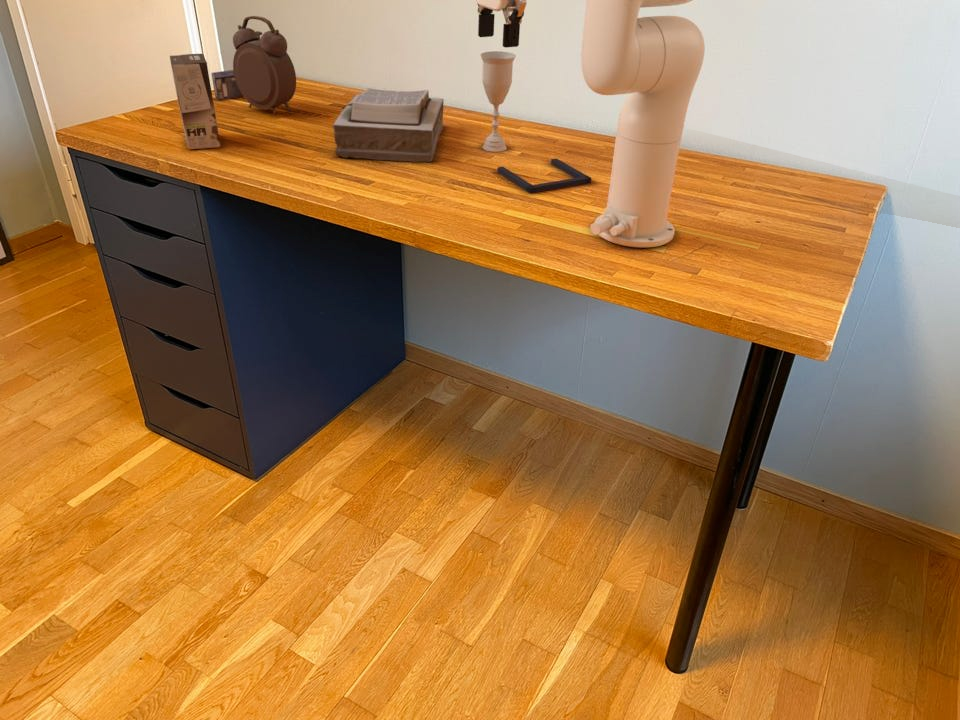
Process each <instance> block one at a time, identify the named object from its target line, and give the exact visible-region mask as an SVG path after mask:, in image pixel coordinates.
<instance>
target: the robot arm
mask: <svg viewBox="0 0 960 720" xmlns="http://www.w3.org/2000/svg"><path fill="white" fill-rule="evenodd" d="M475 1H476V4H477V6H478V7H477V14H478V27H477V28H478V29H477V36H478V37H479V38H488V37H489V38H490V37H491V38H492V37H494V35H495V13H493V12H502V15H503V17H504V22H505V23H503V25H502V26H503V29H502V30H503V31H502V47H503V48H517V47H519V45H520V32H521V31H520V29H521V24H522V22H523V18H524V16H525V9H526V6H527V0H475ZM692 1H693V0H586V2H585V11H584V19H583V29H582V38H581V39H582V41H581V53H580V56H581V61H580V63H581V71H582V76H583V79H584V81H585V84H586V85H587V86H588V88H589V89H590V90H591V91H592V92H594V93H596V94H598V95H602V96H618V95H627V94H628V96H627V97H626V99H625V101H624V103H623V105H622V107H621V110H620V112H619V115H618V120H617V126H616V134H615V141H614V150H613V157H612V164H611V172H610V180H609V188H608V196H607V203H606V207H605V208H604V213H602V214H599V216H597V217H596V219H595V220H594V222H592V223H591V224H590V227H589V230H590V233H591V234H592V235H594V236H599V237H601V238H602V239H603V240H606V241H607V242H610V243H613V244H615V245H620V246H623V247H629V248H638V249H639V248H645V249H646V248H655V247H660V246H663V245H667V244H668V243H670V242H671V241H672V240H673V238H674V237H675V231H676V229H675V227H674V225H673V224H672V223H671V222H670V221H669V220H668V214H669V209H670V202H671V197H672V192H673V187H674V180H675V175H676V171H677V170H676V169H677V164H678V159H679V153H680V148H681V143H682V137H683V133H684V127H685V122H686V118H687V117H686V116H687V112H688V108H689V104H690V100H691V97H692V95H693V94H692V93H693V91H694V89H695V86H696V83H697V81H698V78H699V75H700V72H701V71H702V67H703V63H704V60H705V48H706V47H705V40H704V36H703V34H702V31H701V30H700V28H699V26H698V25H697V24H695V22H693V21H692V20H690V19H688V18H686V17H682V16H679V15H656V16H655V15H654V16H642V17H639V12H640V9H642V8H659V7H672V6H679V5H684V4H688V3H689V2H692Z"/></svg>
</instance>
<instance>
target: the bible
mask: <svg viewBox="0 0 960 720" xmlns="http://www.w3.org/2000/svg"><path fill="white" fill-rule="evenodd" d="M429 95H430V94H429V90H428V89H424V90H409V91H400V90H399V91H397V90H387V89H386V90H384V89H378V88H377V89H376V88H372V87H371V88H370V87H367V88H366V89H365V90H363V92H361V93H357V94H355V95H354V96H353V97H352V99H351V100H350V101H349V102H348V103H347V104H346V105H343V107H342V108H341V110H342V111H341V112H340V113H339V115H338V117H337V118H336V119H335V121H334V122H333V124H332V127H333V137H334V143H335V145H336V148H335V149H334V152H335V155H336V156H337V157H342V158H344V159H347V158H354V159H370V160H376V161H399V162H415V163H417V162H419V163H420V162H421V163H422V162H423V163H426V162H432V161H433V158H434V155H435V153H436V150H437V149H436V148H437V145H438V140H439V137H440V135H441V134H442V133H441V132H442V131H443V129H444V125H443V123H444V122H443V121H444V120H443V119H444V101H445V99H444V98H440V97H430V96H429Z"/></svg>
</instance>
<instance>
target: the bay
mask: <svg viewBox="0 0 960 720" xmlns="http://www.w3.org/2000/svg"><path fill="white" fill-rule="evenodd" d="M550 160H551V161H550V164H551V165H552V166H553V167H554V168H555V167H556V168H557V169H558V170H560V171H562V172H564V173H566V174H568V176H569V175H570V176H571V177H572V178H568V179H567V178H566V179H561V180H555V181H549V182H542V183H536V184H532V183H530V182H529V181H527V180H525V179H523V178H522V177H521V176H519V175H517V174H516V173H514V172H512V171H511V170H510V169H507V167H504V166H497V173H498V174H500V175H501V176H503V177H504V178H505V179H507V180H508V181H510V182H511V183H513V184H515V185H516V186H518V187H520V189H523V190H524V191H525V192H527V193H528V194H534V193H535V194H536V193H540V192H547V191H551V190H552V191H553V190H558V189H564V188H570V187H576V186H582V185H588V184H592V177H591V176H589V175H588V174H586V173H584V172H582V171H580V170H578V169H577V168H575V167H573V166H571V165H569V164H567V163H566V162H564V161H562V160H560V159H558V158H551V159H550Z"/></svg>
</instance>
